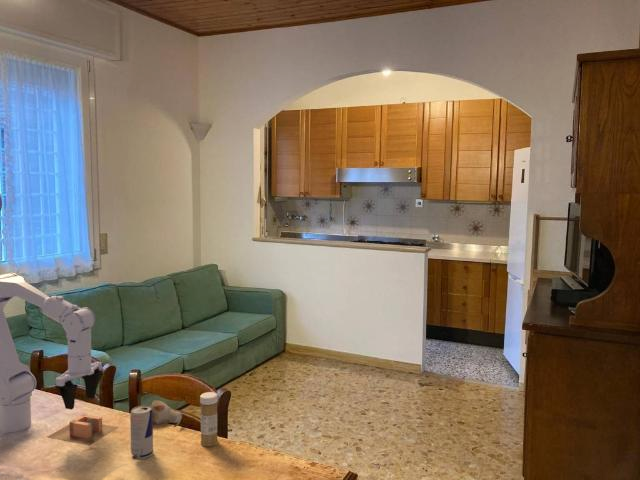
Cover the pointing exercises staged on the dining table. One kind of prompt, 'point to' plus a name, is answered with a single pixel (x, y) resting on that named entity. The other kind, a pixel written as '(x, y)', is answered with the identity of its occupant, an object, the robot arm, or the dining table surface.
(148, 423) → the energy drink
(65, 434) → the stand
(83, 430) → the c link
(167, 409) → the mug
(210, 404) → the sprinkles bottle
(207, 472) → the dining table surface
